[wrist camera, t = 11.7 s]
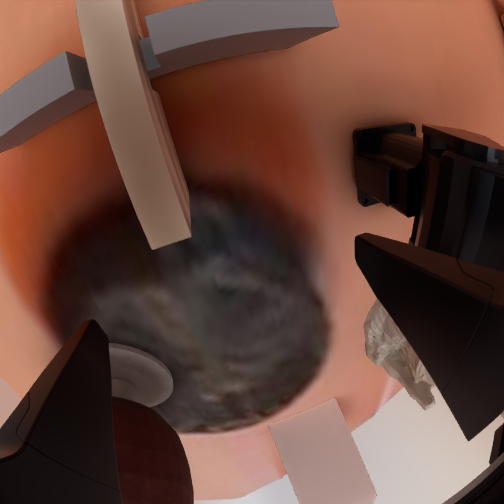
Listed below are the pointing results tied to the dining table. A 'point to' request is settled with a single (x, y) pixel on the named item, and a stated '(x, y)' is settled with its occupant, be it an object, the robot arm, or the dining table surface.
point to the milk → (322, 457)
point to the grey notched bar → (163, 54)
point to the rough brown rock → (502, 19)
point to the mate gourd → (146, 431)
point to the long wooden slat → (134, 119)
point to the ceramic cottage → (397, 355)
